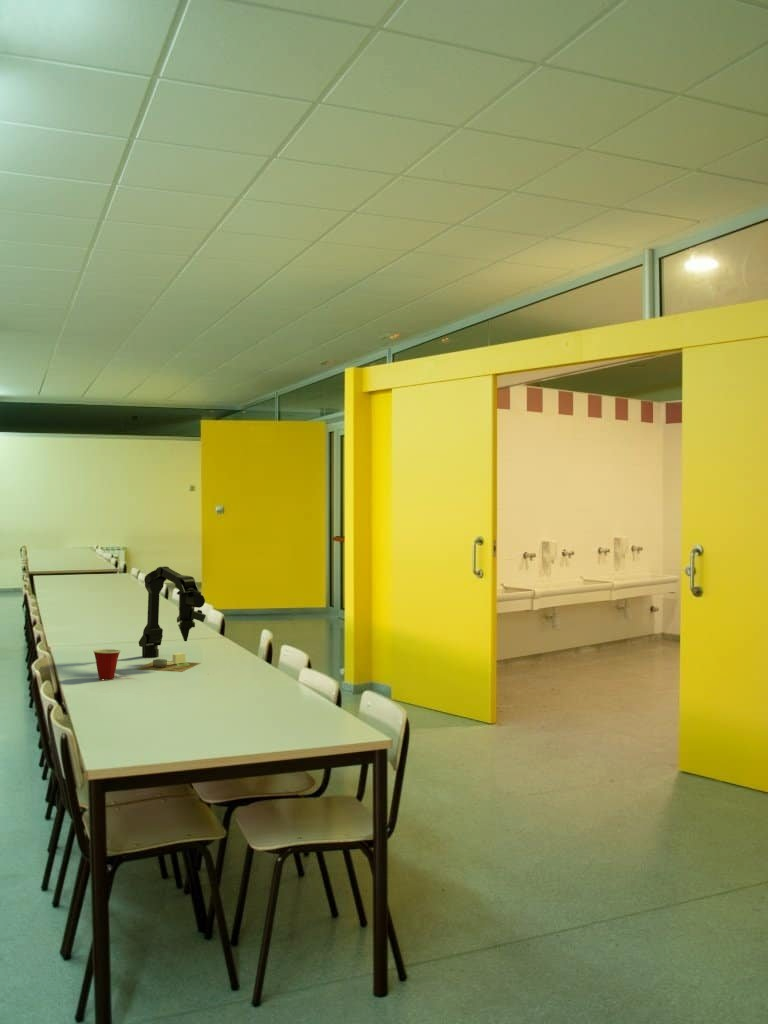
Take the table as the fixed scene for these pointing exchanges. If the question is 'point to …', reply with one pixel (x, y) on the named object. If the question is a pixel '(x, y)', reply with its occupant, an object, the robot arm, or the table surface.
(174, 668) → the brown flat wooden board
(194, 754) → the table surface
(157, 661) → the peg lever
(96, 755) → the table surface
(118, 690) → the table surface
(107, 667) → the plastic cup
